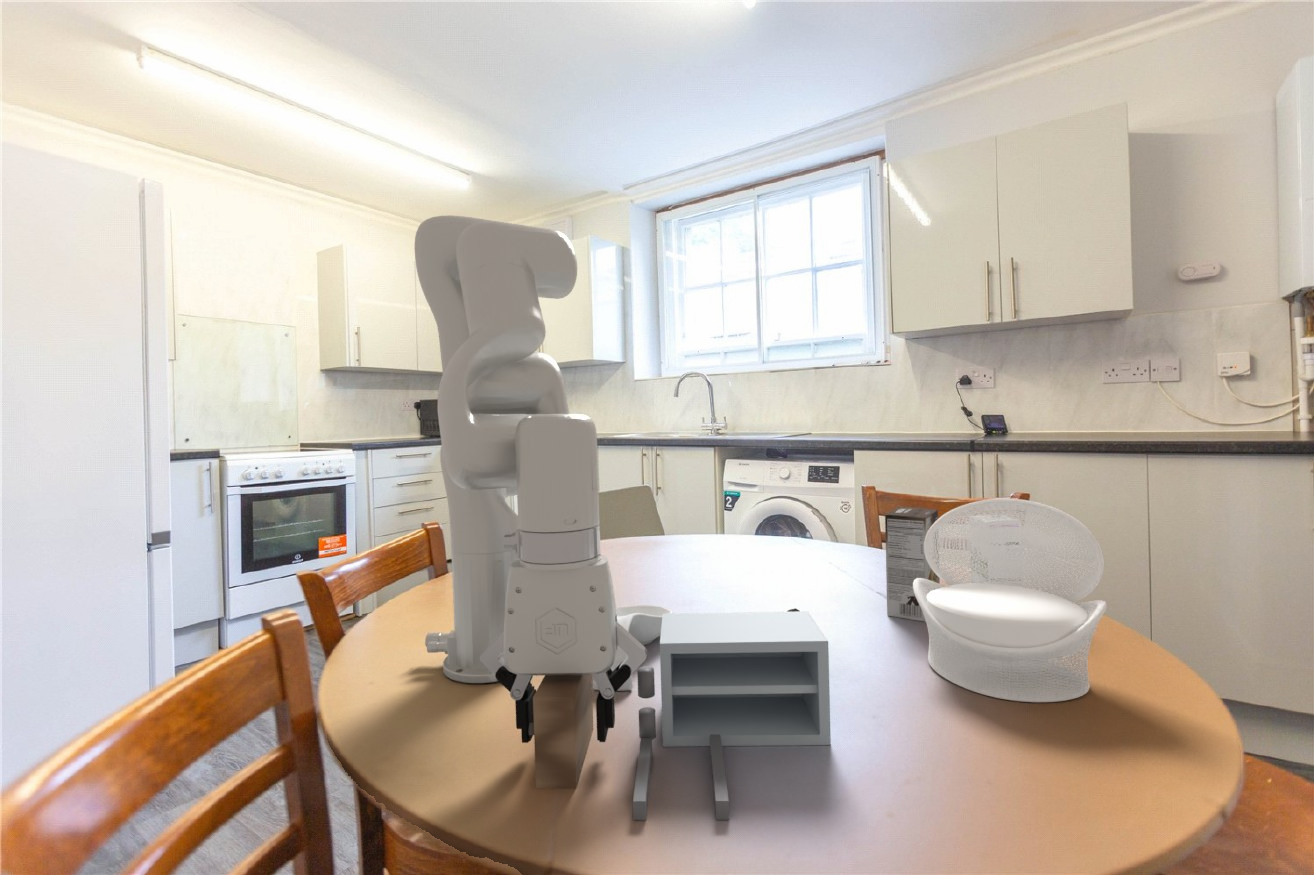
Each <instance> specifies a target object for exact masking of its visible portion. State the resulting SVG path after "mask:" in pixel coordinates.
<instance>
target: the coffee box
mask: <svg viewBox="0 0 1314 875" xmlns="http://www.w3.org/2000/svg"><path fill="white" fill-rule="evenodd" d="M938 519H939V509H935V508H932V509H931V508H923V507H912V506H911V507H910V506H897V507H896V508H894V509H892V510H890V511H888V512H887V513H886V514H884V524H885V525H884V526H885V527H884V530H885V565H886V566H885V569H886V574H885V575H886V578H885V579H886V612H887V613H886V616H888V617H893V618H899V619H900V618H901V619H905V620H906V619H907V620H912V621H918V622H925V623H926V620H925V617H924V614H923V611H922V609H921V607H920V605H919V603H918V601H917V599H916V596H915V594H914V590H913V582H914V580H915V579H916V578H924V579H928V580H931V581H933V582H936V583H939V584H941V579H940V578H939V577H938V576H937V575H936V574H935V573H934V571H933V570H932V569H931V567H930V566H929V564H928V562H927V560H926V557H925V554H924V540H925V537H926V534H927V532H928V530H929V529H930V527H931V526H932V525H933V524H934V522H935V521H937V520H938ZM932 534H933V533H932ZM935 534H936V533H935ZM937 534H938V533H937ZM932 536H933V535H932ZM933 538H934V537H933ZM935 539H936V536H935ZM935 539H934V540H935ZM937 539H938V538H937ZM937 539H936V541H937ZM932 543H933V542H932ZM934 543H935V542H934ZM936 543H937V542H936ZM936 545H937V544H936ZM938 545H939V544H938ZM934 547H935V545H934ZM936 547H937V546H936ZM936 550H937V548H936ZM938 550H940V549H939V548H938ZM934 551H935V550H934ZM937 552H938V551H937ZM930 553H931V552H930ZM930 553H929V554H930ZM937 554H938V553H937ZM939 554H940V553H939ZM939 554H938V556H939ZM935 555H936V554H935ZM935 555H934V556H935ZM932 556H933V555H932ZM935 558H936V557H935ZM932 559H933V558H932ZM936 563H937V562H936ZM938 563H939V562H938ZM926 590H927V589H926ZM934 590H935V589H934ZM928 593H929V592H928ZM923 594H924V593H923ZM925 597H926V596H925ZM924 599H925V598H924ZM926 600H927V599H926Z"/></svg>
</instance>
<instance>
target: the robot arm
mask: <svg viewBox="0 0 1314 875" xmlns="http://www.w3.org/2000/svg"><path fill="white" fill-rule="evenodd" d="M414 259H415V267H416V273H417V276H418V281H419V284H420V287H421V290H422V293H423V295H424V298H425V300H426V302H427V304H428V307H429V308H430V311H431V313H432V315H433V317H434V320H435V323H436V325H437V326H436V327H437V331H438V338H439V339H438V340H439V349H440V350H439V351H440V352H439V353H440V359H441V368H442V369H441V370H442V375H441V377H440V378H441V379H440V382H439V386H438V394H437V418H438V425H439V433H440V434H439V435H440V442H441V447H440V451H439V454H440V455H439V456H440V459H439V461H440V468H441V474H442V478H443V483H444V488H445V494H446V499H447V506H448V515H449V529H450V550H451V573H452V574H451V575H452V600H453V601H452V602H453V625H454V626H453V629H454V630H450V632H448V633H447V632H446V633H444V632H427V634H426V636H425V641H424V645H425V647H426V651H427V653H431V654H432V653H434V654H435V653H441V652H442V653H444V654H445V655H447V656H446V657H445V658H444V660H443V662H442V670H443V671H442V672H443V674H444V675H445V676H446V677H447V678H449V679H450V680H453V681H455V682H460V683H467V684H486V683H489V684H490V683H495V682H496V683H497V682H499V683H500V685H502V686H503V687H504V689H506V690H507V691H508V692H509V695H510V698H511V699H512V700H514V701H515V704H514V705H515V727H516V729H517V730H521V733H520V734H521V743H522V744H528V743H529V742H531V740H532V739H533V737H534V735H529V725H530V723H534V714H533V697H534V695H535V693H536V691H537V688H535V685H533V684H532V681H533V680H532V679H533V677H534V676H545V675H592V679H593V678H594V680H595V682H596V684H597V686H598V688H599V690H598V693H597V697H596V699H595V700H596V702H595V713H596V714H595V715H596V738H597V742H598V741H599V743H605V742H606V741H607V736H608V732H609V729H614V727H615V723H616V722H615V721H616V715H615V712H616V710H615V706H616V705H615V693H616V692H617V690H618V689H619V688H620V687H621V686H622V685H623V684H624V683H625V682H626V681H627V680H628V679H629V677H630V675H632V674H633V673H634V672H635V671H637V669H638V668H640V667H641V665H642V664H643V663H644V662H645V661H646V660H647V655H648V649H647V648H646V646H645V645H642V644H641V643H640V642H639V641H638V640H637V639H635V638H634V637H633V636H632V635H631V634H630V633H629V632H628V631H627V630H626V629H624V628H623V627H622V626H621V625H620V624H619V623H618V622H617V614H616V607H617V605H616V597H615V590H614V583H613V578H612V572H611V569H610V564H609V560H608V557H607V556H605V555H604V554H602V553H601V532H600V531H601V525H600V494H599V464H598V462H599V461H598V438H597V437H598V436H597V435H598V434H597V427H596V424H595V421H594V420H593V419H592V418H591V417H589V416H588V415H585V414H581V413H570V411H569V405H568V398H567V393H566V391H567V390H566V387H565V381H564V377H563V373H562V370H561V368H560V367H559V365H558V363H557V362H556V361H555V359H554V358H553V357H551V356H550V355H548V354H546V353H544V352H540V351H539V352H538V351H537V350H539V348H540V347H541V346H542V344H543V343H544V341H545V338H546V333H547V332H546V325H545V321H544V316H543V313H542V309H541V305H540V301H539V298H542V299H543V298H545V299H564V298H566V297H567V296H569V295H570V294H571V292H572V291H573V289H574V287H575V285H576V283H577V277H578V261H577V256H576V253H575V249H574V247H573V244H572V242H571V241H570V240H569V238H568V237H567V236H566V235H565V234H564V233H563V232H561V231H558V230H556V229H550V228H544V227H537V226H532V225H524V224H519V223H509V222H504V221H503V222H502V221H496V220H490V219H485V218H484V219H483V218H477V217H471V216H470V217H469V216H462V215H438V216H432V217H429V218H426V219H425V220H424V221H423V222H421V223H420V225H419V226H418V228H417V230H416V233H415V236H414ZM514 496H516V497H517V498H516V499H517V513H516V512H515V511H514V510H513V509H512V508H511V507H510V506H509V505H508V503H507V502H506V498H509V497H514ZM601 554H602V555H601ZM618 646H619V647H620V648H621V649H623V650H624V651H625V652H626V653H627V654H628V656H627V657H626V659H625V660H624V661H622V662H621V663H620V664H619V665H618V666H617V667H616V668H615V669H614V670H613V668H612V665H613V663H614V661H615V656H616V651H617V647H618Z"/></svg>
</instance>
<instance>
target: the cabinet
mask: <svg viewBox="0 0 1314 875" xmlns="http://www.w3.org/2000/svg"><path fill="white" fill-rule="evenodd" d="M659 637H660V639H659V660H660V662H659V664H660V688H661V689H660V691H661V692H660V693H661V723H662V724H661V725H662V747H665V748H666V747H709V751H710V752H709V754H710V762H711V774H712V776H711V777H712V784H713V785H712V786H713V796H714V806H715V818H716V821H729V820H730V801H729V793H728V784H727V778H726V777H727V776H726V769H725V762H724V761H725V760H724V754H723V747H753V746H754V747H762V746H764V747H765V746H769V747H771V746H772V747H773V746H779V747H780V746H785V747H787V746H831V745H832V744H831V740H832V739H831V735H832V734H831V704H830V703H831V702H830V697H831V696H830V667H829V666H830V662H829V659H830V658H829V657H830V656H829V640H828V638H827V637H826V636H825V634H824V632H823V631H822V629H821V628H820V626H819V625H818V624H817V622H816V621H815V620H814V618H813V616H812V615H811V614H810V612H809V611H803V610H802V611H801V610H799V611H796V612H787V611H755V612H753V611H749V612H748V611H747V612H742V611H741V612H739V611H738V612H701V613H700V612H699V613H698V612H695V613H694V612H691V613H690V612H689V613H688V612H687V613H673V614H663V615H662V626H661V635H660V636H659ZM636 671H637V672H636V673H637V696H638V697H639V698H641V699H651V698H653V697H655V695H656V689H655V687H656V686H655V668H654V667H652V666H651V665H650V666H647V665H646V666H639V667H638V668H637V669H636ZM656 720H657V719H656V709H655V708H653V707H651V706H649V707H648V706H647V707H641V708H640V709H639V710H638V734H639V739H640V742H639V743H640V744H639V749H638V750H639V751H638V758H637V766H636V775H635V781H634V783H635V784H634V790H633V798H632V814H633V815H632V816H633V817H632V818H633V821H647V815H648V804H649V803H648V802H649V792H650V780H651V770H652V769H651V768H652V758H653V757H652V756H653V740H654V739H656V737H657V722H656Z"/></svg>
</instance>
